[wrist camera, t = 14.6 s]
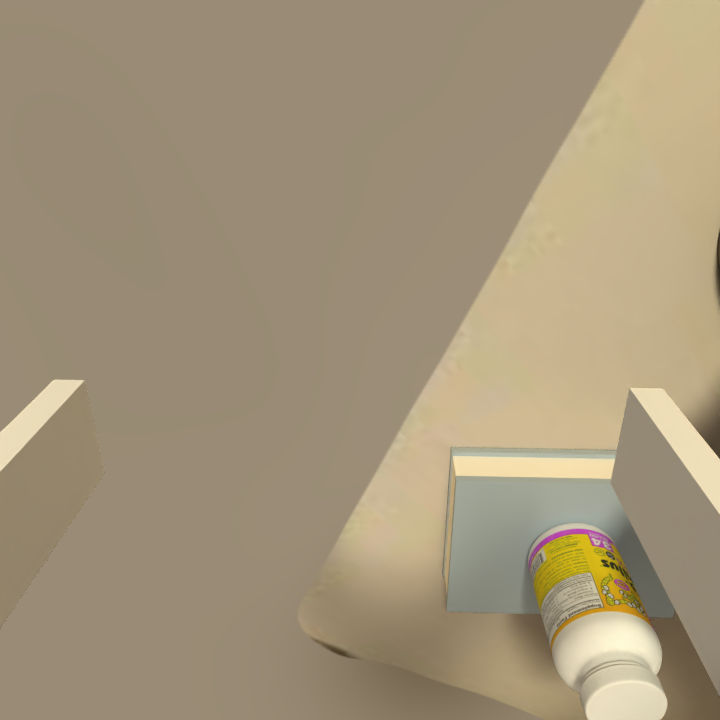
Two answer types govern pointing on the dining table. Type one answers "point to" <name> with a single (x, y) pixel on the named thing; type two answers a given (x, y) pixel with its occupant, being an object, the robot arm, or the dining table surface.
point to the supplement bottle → (597, 624)
